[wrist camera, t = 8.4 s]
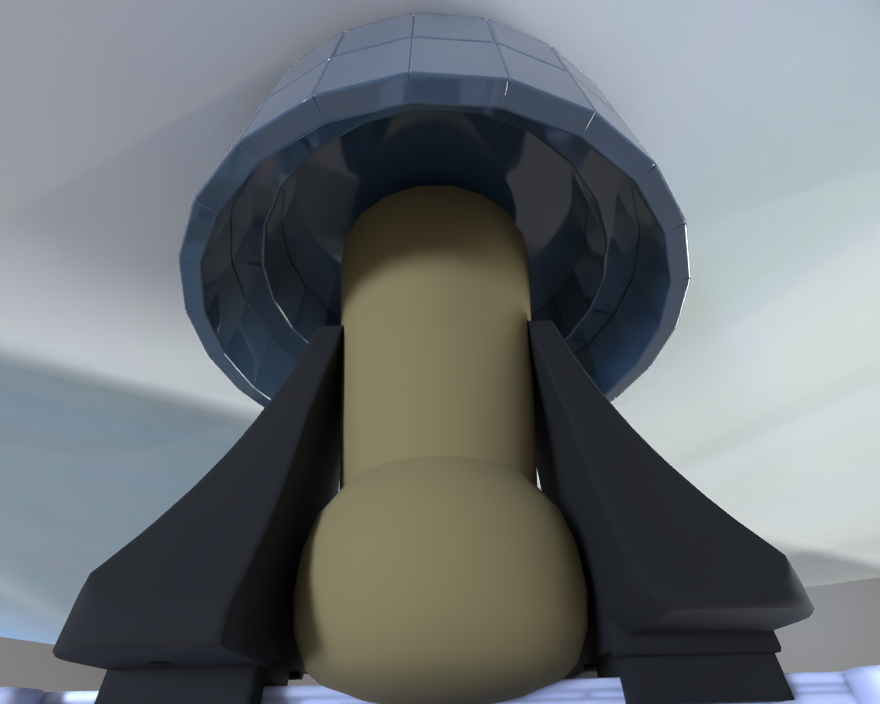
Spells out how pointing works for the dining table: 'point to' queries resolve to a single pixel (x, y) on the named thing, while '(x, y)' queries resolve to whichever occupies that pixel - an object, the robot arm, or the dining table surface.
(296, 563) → the robot arm
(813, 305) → the dining table surface
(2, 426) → the dining table surface
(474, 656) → the cork
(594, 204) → the dark blue bowl
